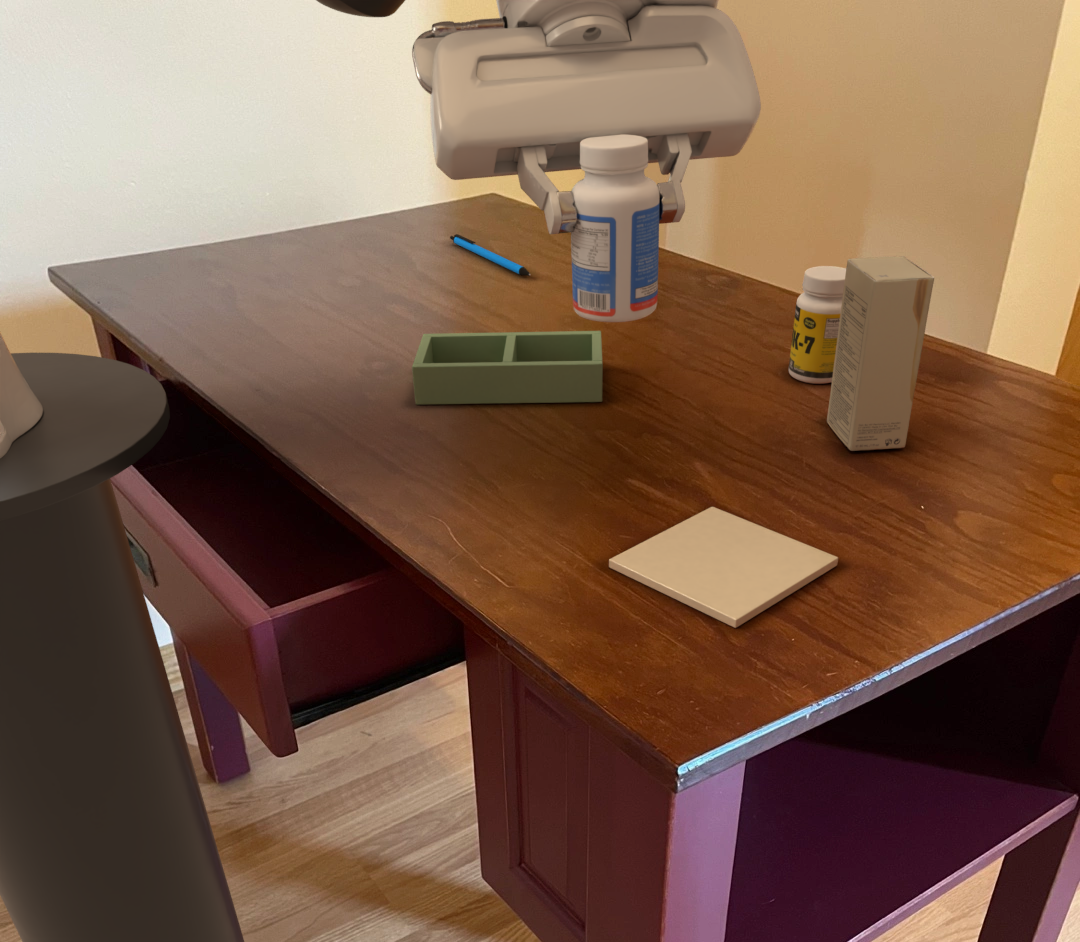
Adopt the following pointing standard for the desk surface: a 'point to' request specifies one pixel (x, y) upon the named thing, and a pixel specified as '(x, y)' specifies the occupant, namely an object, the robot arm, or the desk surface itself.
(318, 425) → the desk surface
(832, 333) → the supplement bottle
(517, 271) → the pen
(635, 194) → the pill bottle
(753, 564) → the tile
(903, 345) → the cosmetic box
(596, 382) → the bottle rack
